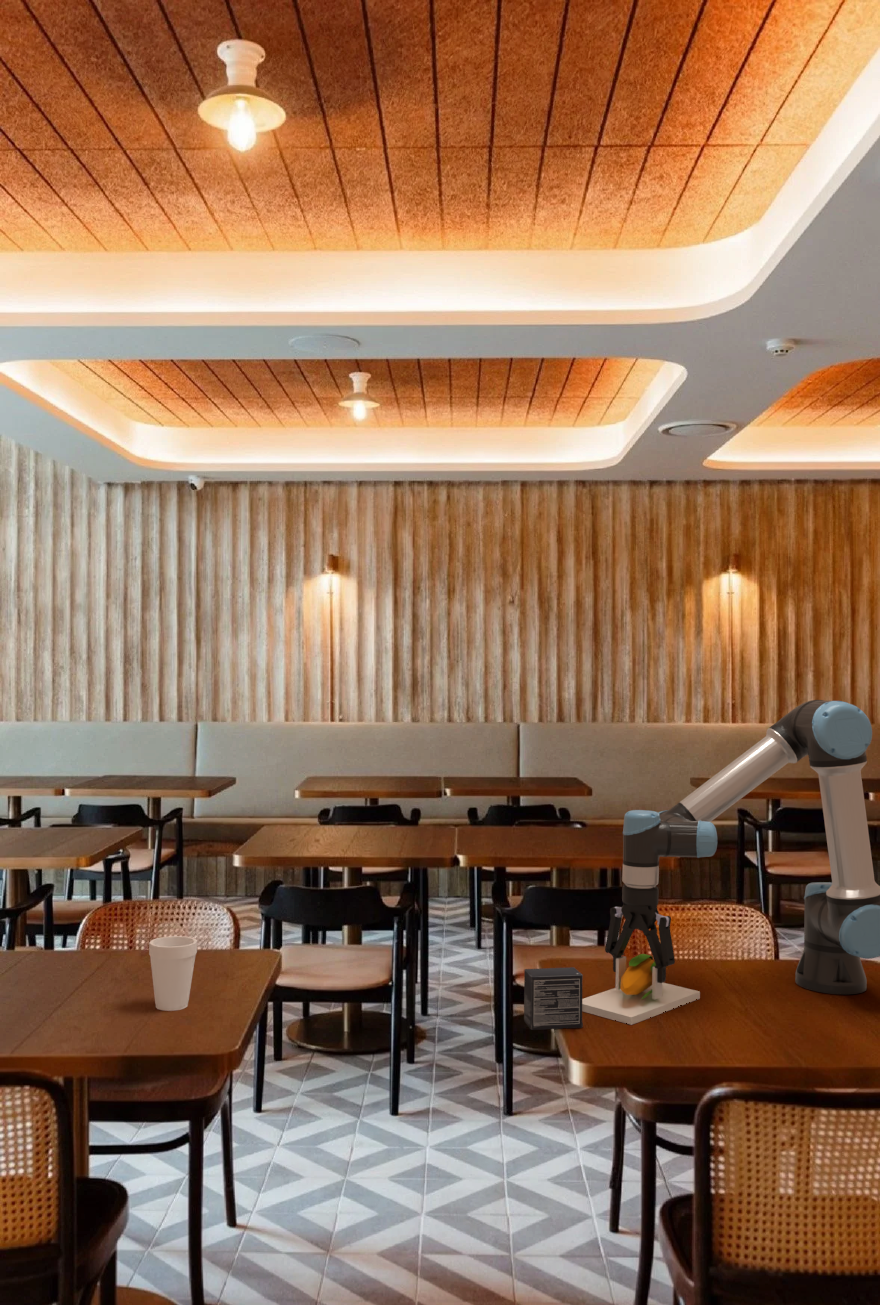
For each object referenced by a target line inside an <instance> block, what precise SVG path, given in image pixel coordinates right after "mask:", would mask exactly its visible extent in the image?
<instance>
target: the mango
mask: <svg viewBox="0 0 880 1305" xmlns="http://www.w3.org/2000/svg"><path fill="white" fill-rule="evenodd" d="M654 966H656V964H655V961H654V958H653V955H649V954H646V953H640V954H637V955H635V956H634V957H632V958H631V959H630V960H629V961H628V967H626V971H625V972H624V974H623V976H622V977H621V987H620V989H621V990H622V991H623V992H624V993H625V994H626V995H638V994H639V993H641V992H643V991H644V990H646V989H647V988H649V987H650V986H651V985H652V970H653V967H654ZM651 993H652V989H651V990H650V991H649V992H647V993H646V994H645V995H644V996H643V998H642V999H644V998H645V997H647V996H648V995H649V994H651Z"/></svg>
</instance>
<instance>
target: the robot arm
mask: <svg viewBox="0 0 880 1305" xmlns="http://www.w3.org/2000/svg"><path fill="white" fill-rule="evenodd" d="M765 734H766V735H765V736H764V737H763V738H762V739H760V740H759V741H758V742H756V743H755V744H753V746H751V747H750V748H749V749H747V750H746V751H745V752H743V753H742V754H740V755H739V756H738V757H737V758H735V759H733V761H731V762H730V763H729V764H727V765H726V766H725V767H724V768H723V769H721V770H719V772H717V773H716V774H714V775H713V776H712V777H711V778H709V779H708V780H707V781H705V782H704V783H702V784H701V785H700V786H699V787H698V788H696V789H695V790H694V791H692V792H690V793H689V794H688V795H687V796H685V797H684V798H683V799H682V800H680V801H679V802H677V803H676V804H675V805H674V806H672V807H671V808H670V809H667V810H662V811H654V810H648V809H647V810H645V809H632V810H629V811H627V812H626V813H625V814H624V817H623V827H622V828H623V831H622V842H623V843H622V845H623V846H622V847H623V848H622V851H623V852H622V854H623V855H622V875H621V876H622V877H621V880H622V882H623V883H624V884H623V886H622V888H621V893H622V896H621V899H622V900H621V901H622V904H623V905H622V906H619V905H618V906H613V907H610V908H609V914H610V915H609V916H610V919H609V925H608V931H607V937H606V943H605V948H604V952H605V953H607V954H610V955H611V956H612V971H613V972H614V973H615V988H616V990H620V987H621V977H622V976H623V974H624V972H625V971H626V969H627V956H624V955H625V951H626V949H627V946H628V944H629V942H630V939H631V937H632V935H633V932H634V931H635V930H638V931H641V932H642V933H643V935H644V936H645V937H646V940H647V943H648V946H649V949H650V952H651V954H652V955H651V956H652V957H653V961H655V964H656V966H654V967H653V970H652V999H657V998H660V997H662V983H666V981H667V967H669V966H672V965H674V964H675V963H676V960H675V954H674V946H673V939H672V934H671V924H672V923H671V922H672V917H671V916H670V915H667V916H665V915H662V914H660V913H659V912H660V911H659V910H658V904H659V887H658V886H657V885H658V884H659V878H660V876H659V874H660V873H659V872H660V868H659V867H660V857H664V858H668V857H672V858H673V857H674V858H675V857H677V858H697V859H700V858H706V857H707V858H708V857H710V858H711V857H713V856H714V855H715V853H716V852H717V848H718V833H717V828H716V825H714V823H713V822H712V821H714V820H715V819H716V818H718V817H719V816H720V815H722V814H723V813H724V812H725V811H727V810H728V809H729V808H730V807H732V806H733V805H734V804H736V803H737V802H739V801H740V800H741V799H742V798H744V797H746V795H748V794H749V793H750V792H752V791H753V790H754V789H756V788H757V787H759V786H760V785H761V784H762V783H763V782H765V781H766V780H768V779H769V778H771V776H773V775H774V774H775V773H777V772H778V771H780V770H781V769H782V768H783V767H785V766H786V765H787V764H797V763H798V762H799V761H800V760H802V759H803V758H805V757H807V756H808V762H809V767H810V768H811V769H812V770H813V771H815V772H816V773H817V775H818V782H819V790H820V797H821V807H822V813H823V820H824V829H825V836H826V837H825V838H826V843H827V852H828V859H829V867H830V876H831V882H830V881H829V882H824V881H823V882H817V881H816V882H810V883H808V884H807V885H805V892H804V897H803V900H804V911H803V912H804V918H803V919H804V923H803V924H804V927H803V928H804V930H803V936H804V937H803V938H804V939H803V946H804V947H803V950H802V953H801V956H800V959H799V961H798V964H797V967H796V970H795V974H794V975H795V983H796V985H798V986H799V987H801V988H803V989H806V990H809V991H812V992H816V993H823V994H831V995H857V994H861V993H864V992H865V991H867V981H868V980H867V977H866V972H865V970H864V967H863V963H862V961H861V959H867V960H868V959H870V960H871V959H875V958H878V957H880V885H879V884H878V883H877V882H876V881H875V874H874V873H875V872H874V865H873V859H872V850H871V842H870V834H869V826H868V818H867V811H866V802H865V795H864V787H863V781H862V773H861V771H862V769H863V768H864V767H865V765H866V764H867V763H868V759H867V758H868V757H867V750H868V747H869V746H870V745H871V743H872V739H873V728H872V723H871V720H870V719H869V717H868V716H867V715H866V713H865V712H864V711H863V710H862V709H861V708H859V707H858V706H856V705H855V704H852V703H848V702H847V701H842V700H824V699H811V700H808V701H805V702H803V703H800V704H799V705H797V706H796V707H795V708H793V709H792V710H790V711H789V712H788V713H786V714H785V715H783V717H781V718H780V719H779V720H778V721H776V722H775V723H773V725H771V726H770V727H768V728H767V729H766V733H765ZM622 917H624V922H623V924H622ZM656 922H657V924H656ZM621 924H622V930H621V932H620V928H621ZM656 925H657V926H658V927H657V926H656ZM658 934H659V935H658Z"/></svg>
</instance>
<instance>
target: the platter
mask: <svg viewBox="0 0 880 1305" xmlns="http://www.w3.org/2000/svg"><path fill="white" fill-rule="evenodd" d="M651 989H652V985H651V986H650V987H649V988H647V989H646V990H644V991H643V992H641V993H639V994H638V995H626V994H625V993H624V992H623V991H622V990H621V989H620V990H616V987H614V988H610V989H608V990H605V991H602V992H598V993H596V994H593V995H590V996H587V997H585V998H582V1013H586V1014H589V1015H590V1014H591V1015H594V1016H598V1017H602V1018H604V1019H608V1020H612V1021H615V1020H616V1021H615V1022H619V1023H623V1024H626V1023H627V1024H626V1025H630V1026H632V1025H635V1024H638V1023H640V1022H643V1021H645V1020H649V1019H651V1018H653V1017H655V1016H658V1015H660V1014H664V1013H666V1012H669V1011H671V1010H674V1009H676V1008H679V1007H681V1006H680V1005H682V1006H684V1005H687V1004H689V1002H690V1003H692V1002H694V1001H697V1000H700V998H701V992H700V990H699V991H698V990H695V989H690V988H687V987H683V986H680V985H679V986H678V985H674V984H671V983H666V982H663V983H662V997H660V998H657V999H652V993H651V994H649V995H648V996H647V997H645V998H644V999H642V998H643V996H644V995H645V994H646V993H647V992H649V991H650V990H651ZM696 999H697V1000H696ZM686 1003H687V1004H686ZM678 1006H679V1007H678ZM673 1008H674V1009H673ZM665 1011H666V1012H665ZM663 1012H664V1013H663ZM650 1017H651V1018H650Z"/></svg>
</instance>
